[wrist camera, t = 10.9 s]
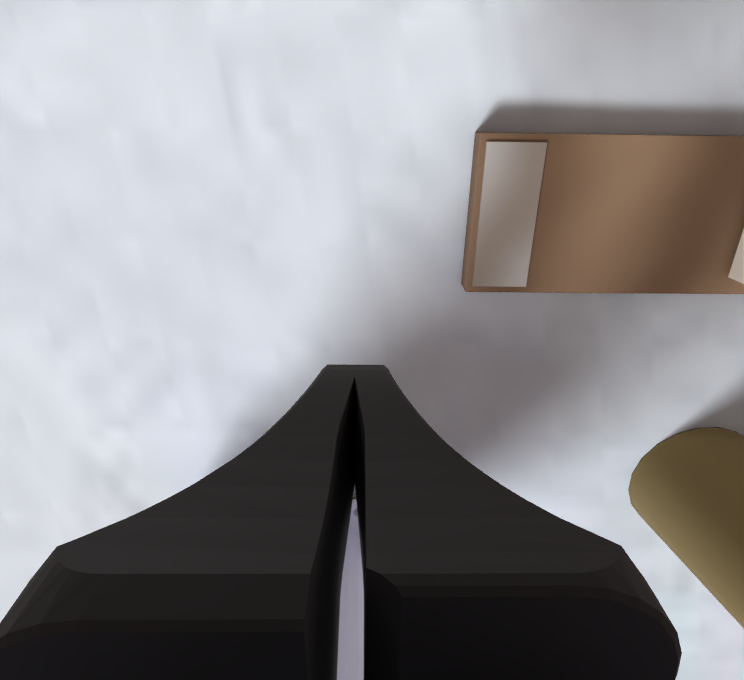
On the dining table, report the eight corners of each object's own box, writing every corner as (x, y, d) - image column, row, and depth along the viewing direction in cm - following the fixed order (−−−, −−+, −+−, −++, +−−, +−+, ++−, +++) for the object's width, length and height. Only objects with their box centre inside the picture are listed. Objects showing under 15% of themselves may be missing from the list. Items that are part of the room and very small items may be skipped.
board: (461, 283, 20) (466, 292, 19) (475, 132, 17) (481, 133, 16) (835, 286, 20) (860, 295, 19) (898, 138, 17) (930, 139, 16)
